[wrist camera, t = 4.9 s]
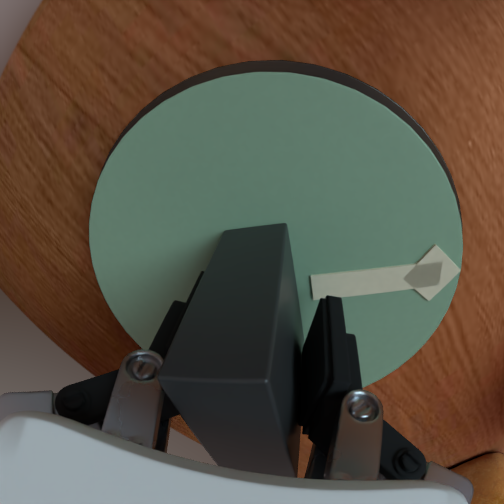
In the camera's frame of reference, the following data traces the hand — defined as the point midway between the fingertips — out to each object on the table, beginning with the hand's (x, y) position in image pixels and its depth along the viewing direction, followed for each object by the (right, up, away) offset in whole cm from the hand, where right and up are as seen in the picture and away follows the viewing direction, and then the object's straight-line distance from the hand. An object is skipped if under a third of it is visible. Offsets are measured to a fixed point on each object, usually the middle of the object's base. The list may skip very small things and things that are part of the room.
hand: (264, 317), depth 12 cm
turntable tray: (0, +1, +2) cm, 2 cm away
